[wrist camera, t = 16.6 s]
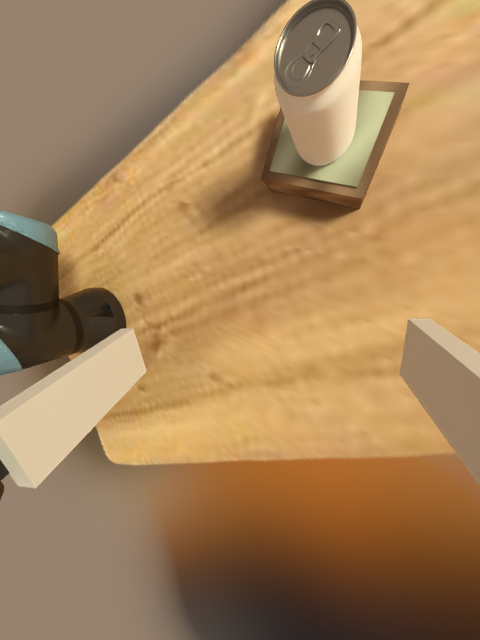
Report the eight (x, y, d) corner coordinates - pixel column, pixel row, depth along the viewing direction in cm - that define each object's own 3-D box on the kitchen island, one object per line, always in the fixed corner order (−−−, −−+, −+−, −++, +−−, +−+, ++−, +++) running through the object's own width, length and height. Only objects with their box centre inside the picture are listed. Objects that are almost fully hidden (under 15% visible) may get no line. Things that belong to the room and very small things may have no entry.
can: (285, 142, 29) (251, 66, 18) (329, 89, 26) (319, -37, 16) (320, 179, 28) (306, 123, 18) (369, 128, 26) (387, 24, 15)
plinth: (271, 190, 36) (260, 177, 31) (296, 103, 32) (288, 75, 28) (359, 209, 32) (362, 198, 27) (399, 112, 28) (410, 80, 24)
